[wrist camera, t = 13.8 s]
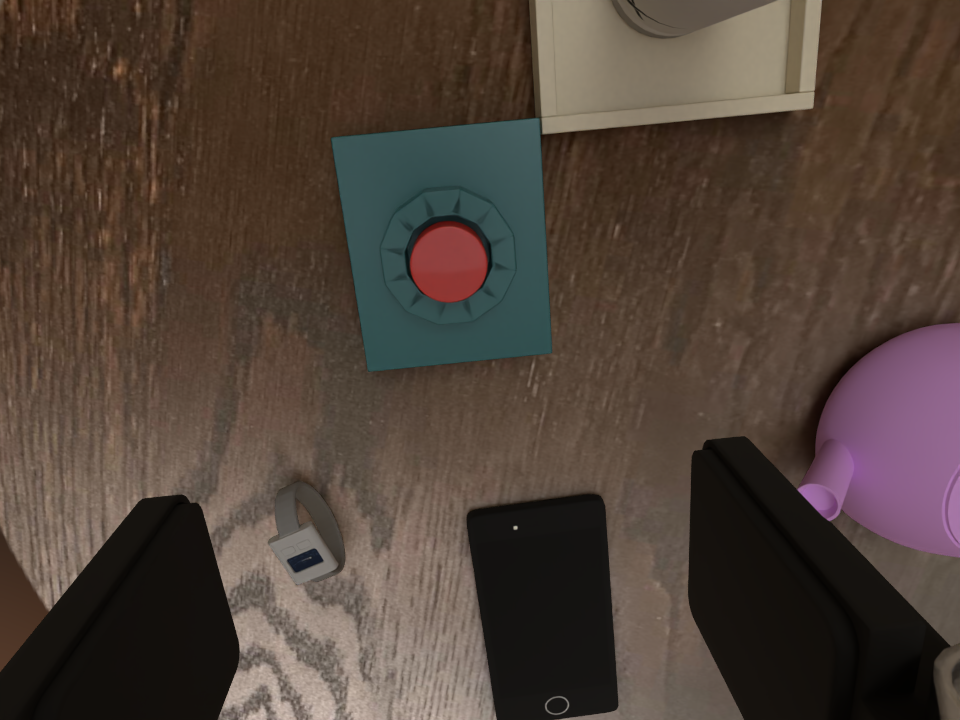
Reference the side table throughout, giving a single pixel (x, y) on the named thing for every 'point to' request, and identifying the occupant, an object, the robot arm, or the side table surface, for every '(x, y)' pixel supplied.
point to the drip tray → (668, 66)
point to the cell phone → (546, 607)
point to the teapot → (895, 442)
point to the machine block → (435, 198)
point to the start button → (448, 262)
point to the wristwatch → (307, 536)
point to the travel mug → (680, 14)
